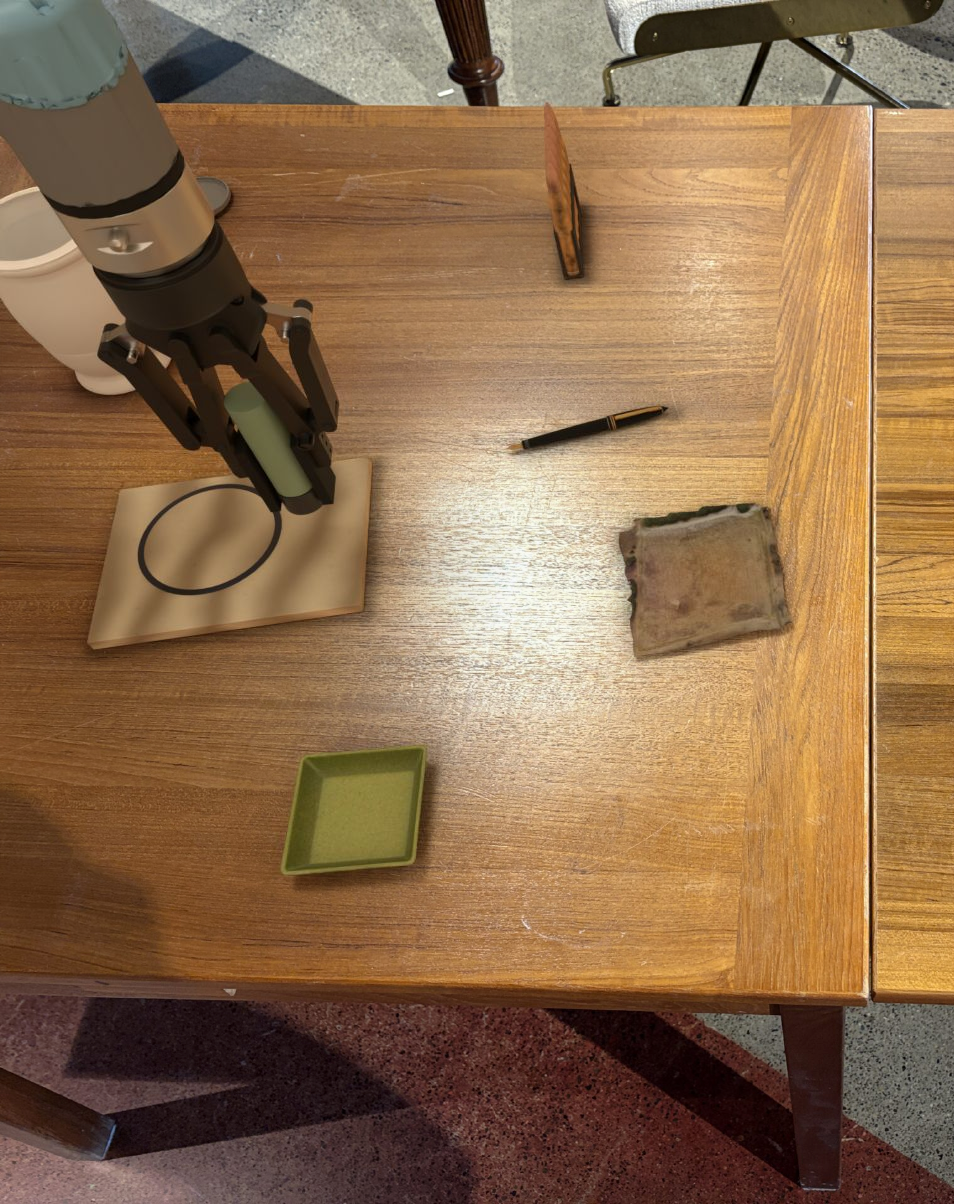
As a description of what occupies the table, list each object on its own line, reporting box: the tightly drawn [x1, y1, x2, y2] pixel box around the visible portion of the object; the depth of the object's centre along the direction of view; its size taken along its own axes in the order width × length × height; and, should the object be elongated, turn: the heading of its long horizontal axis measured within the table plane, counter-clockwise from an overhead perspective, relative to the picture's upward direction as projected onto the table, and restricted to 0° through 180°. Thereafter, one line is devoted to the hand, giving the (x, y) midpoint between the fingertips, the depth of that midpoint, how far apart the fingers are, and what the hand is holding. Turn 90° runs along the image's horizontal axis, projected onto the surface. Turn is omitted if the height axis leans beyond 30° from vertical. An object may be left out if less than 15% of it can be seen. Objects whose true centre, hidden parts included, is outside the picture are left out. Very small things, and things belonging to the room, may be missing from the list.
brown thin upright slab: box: [543, 101, 585, 280], centre depth 107 cm, size 11×2×12 cm, turn 8°
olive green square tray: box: [279, 744, 428, 876], centre depth 78 cm, size 9×9×2 cm
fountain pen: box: [502, 405, 669, 451], centre depth 98 cm, size 14×1×2 cm, turn 109°
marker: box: [224, 380, 323, 515], centre depth 83 cm, size 3×3×11 cm
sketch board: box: [86, 456, 373, 650], centre depth 91 cm, size 20×15×1 cm
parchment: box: [618, 502, 793, 657], centre depth 89 cm, size 12×13×1 cm
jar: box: [0, 185, 172, 396], centre depth 98 cm, size 11×10×15 cm
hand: (303, 493), depth 88 cm, fingers closed on marker, 3 cm apart
